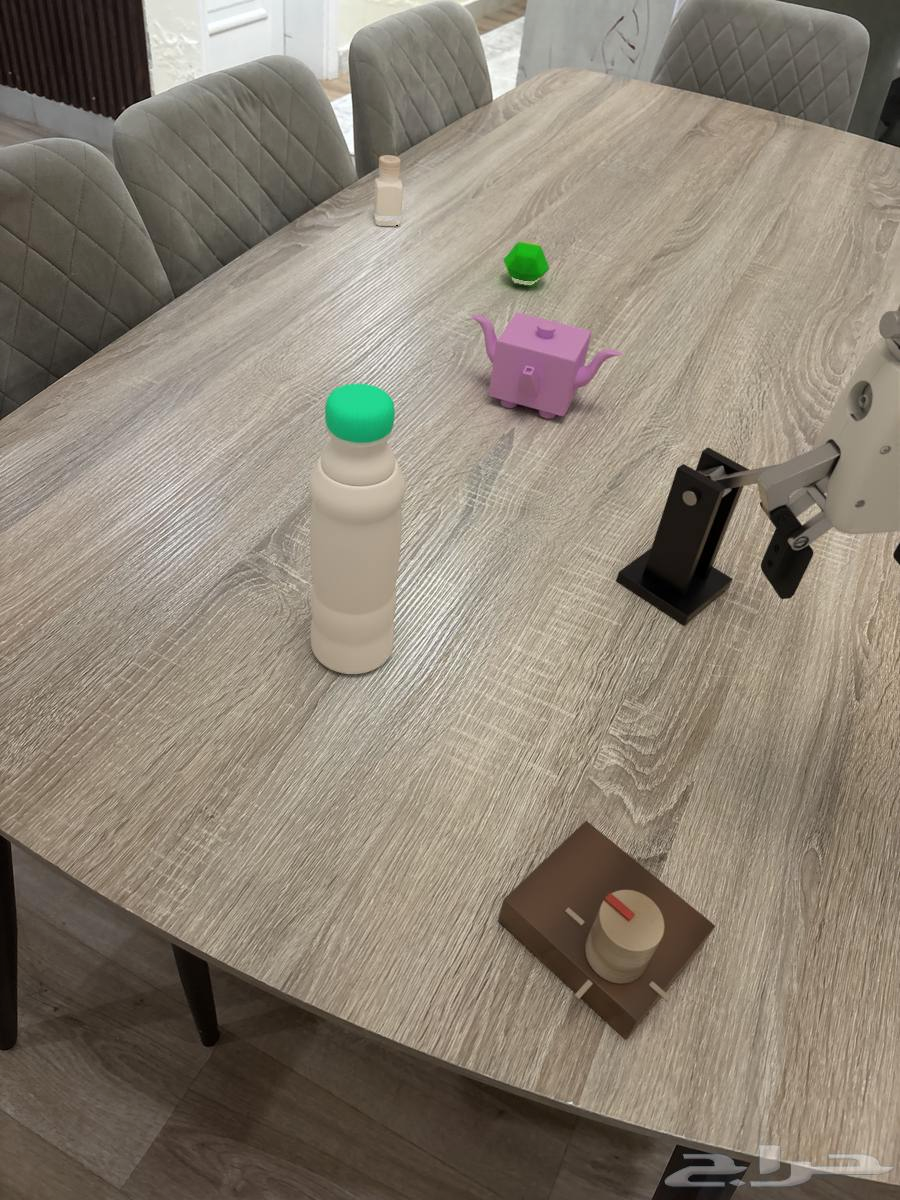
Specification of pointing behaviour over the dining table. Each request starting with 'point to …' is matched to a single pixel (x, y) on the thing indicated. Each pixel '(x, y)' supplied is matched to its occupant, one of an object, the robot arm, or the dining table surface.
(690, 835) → the dining table surface
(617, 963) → the tap knob
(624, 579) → the black lever stand
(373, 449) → the water bottle
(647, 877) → the tap panel
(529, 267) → the green faceted polyhedron
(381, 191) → the salt shaker
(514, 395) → the teapot
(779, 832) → the dining table surface
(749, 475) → the faucet lever
